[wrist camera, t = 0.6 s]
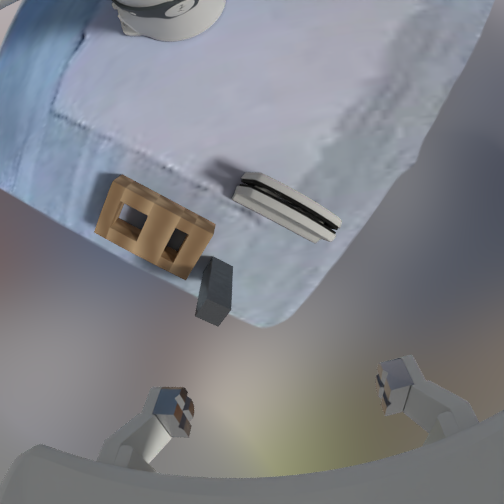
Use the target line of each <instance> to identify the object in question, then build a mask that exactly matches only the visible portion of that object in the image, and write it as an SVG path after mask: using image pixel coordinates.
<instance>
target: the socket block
mask: <svg viewBox="0 0 504 504" xmlns="http://www.w3.org/2000/svg"><path fill="white" fill-rule="evenodd" d="M124 203H125V204H127V205H129V206H131V207H132V208H134V209H136V210H138V211H140V212H142V213H144V214H146V215H147V216H148V218H147V220H146V222H145V224H144V226H143V228H142V230H140V229H138V228H136V227H135V226H133V225H131V224H129V223H127V222H125V221H123V220H121V219H120V218H119V215H120V213H121V210H122V208H123V205H124ZM175 228H177V229H179V230H181V231H183V232H185V233H186V234H187V235H186V237H185V239H184V241H183V243H182V244H181V246H180V248H179V250H178V251H176V250H174V249H172V248H170V247H168V246H166V245H167V243H168V241H169V239H170V237H171V235H172V233H173V231H174V230H175ZM214 229H215V224H214V223H212V222H210V221H209V220H207V219H205V218H203V217H201V216H199V215H197V214H196V213H194V212H192V211H190V210H188V209H186V208H184V207H182V206H181V205H179V204H177V203H175V202H173V201H171V200H169V199H167V198H166V197H164V196H162V195H160V194H158V193H156V192H154V191H152V190H151V189H149V188H147V187H145V186H143V185H141V184H139V183H137V182H136V181H134V180H132V179H130V178H128V177H126V176H124V175H121V176H119V177H118V178H116V179H115V180H114V181H113V182H112V184H111V187H110V189H109V192H108V195H107V197H106V200H105V203H104V205H103V208H102V211H101V214H100V217H99V219H98V222H97V225H96V228H95V231H94V232H95V233H96V234H98V235H100V236H102V237H104V238H105V239H107V240H109V241H111V242H113V243H115V244H116V245H118V246H120V247H122V248H124V249H126V250H128V251H130V252H131V253H133V254H135V255H137V256H139V257H141V258H143V259H145V260H147V261H149V262H151V263H153V264H154V265H156V266H158V267H160V268H162V269H164V270H166V271H168V272H170V273H172V274H174V275H176V276H178V277H180V278H182V279H184V280H186V279H187V277H188V276H189V274H190V272H191V271H192V269H193V267H194V266H195V264H196V262H197V261H198V259H199V257H200V256H201V254H202V253H203V251H204V249H205V248H206V246H207V244H208V243H209V241H210V239H211V238H212V236H213V234H214Z"/></svg>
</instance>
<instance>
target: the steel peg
mask: <svg viewBox="0 0 504 504" xmlns="http://www.w3.org/2000/svg"><path fill="white" fill-rule="evenodd" d="M232 276H233V266H231V265H229V264H227V263H225V262H223V261H221V260H219V259H217V258H215V257H213V258H212V259H211V261H210V263H209V264H208V266H207V267H206V269H205V270H204V272H203V276H202V281H201V286H200V291H199V297H198V302H197V308H196V313H195V316H196V317H198V318H200V319H202V320H205V321H207V322H209V323H211V324H214V325H216V326H219V325H220V324H221V322H222V321H223V320H224V318H225V317H226V316H227V315H228V313H229V312H230V311H231V300H232Z"/></svg>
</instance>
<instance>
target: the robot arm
mask: <svg viewBox="0 0 504 504" xmlns="http://www.w3.org/2000/svg"><path fill="white" fill-rule="evenodd" d="M16 1H18V0H0V10H1V9H2V8H4V7H6V6H8V5H10V4H12V3H14V2H16ZM112 1H113V3H112V7H113V8H114V9H115V10H116V9H117V10H118V14H119V15H118V17H119V19H120V22H121V25H122V29H123V32H124V33H125V34H126V35H127V36H142V35H143V36H147V37H150V38H153V39H156V40H160V41H181V40H185V39H189V38H192V37H194V36H196V35H198V34H200V33H202V32H204V31H205V30H207V29H208V28H209V27H210V26H212V25H213V24H214V23H215V22H216V20H217V19H218V18H219V17H220V15H221V13H222V11H223V9H224V7H225V3H226V0H112ZM377 370H378V375H377V376H376V381H375V383H376V391H377V394H378V397H380V398H381V399H382V401H381V406H382V409H383V412H384V415H385V416H388V415H392V414H396V413H399V412H403V413H405V414H406V415H407V416H408V417H410V418H411V419H412V420H413V421H414V422H416V423H417V424H418V425H420V426H421V427H422V428H423V429H424V430H426V431H427V432H428V433H429V435H428V437H427V439H426V441H425V442H424V444H423V446H422V447H420V448H417V449H414V450H411V451H408V452H404V453H401V454H398V455H395V456H391V457H388V458H384V459H380V460H377V461H372V462H368V463H364V464H360V465H355V466H350V467H345V468H340V469H335V470H329V471H322V472H315V473H308V474H299V475H290V476H279V477H261V478H206V477H191V476H179V475H170V474H161V473H157V472H156V471H155V469H154V468H153V467H151V466H150V465H149V463H150V462H151V460H152V459H153V458H154V457H155V456H156V455H157V454H158V453H159V452H160V451H161V449H162V448H163V447H164V446H165V445H166V444H167V443H168V441H169V440H170V439H171V437H184V438H189V435H190V431H191V424H190V423H189V421H190V420H192V419H193V416H194V404H193V401H192V399H191V398H189V397H188V396H187V393H188V392H187V390H186V388H184V387H152V388H151V389H150V392H149V394H148V397H147V400H146V402H145V405H144V408H143V410H142V413H141V414H137V415H136V416H135V417H134V418H133V419H131V420H130V421H129V422H128V423H126V424H125V425H124V426H123V427H121V428H120V429H119V430H118V431H116V432H115V433H114V434H113V435H111V436H110V437H109V438H107V439H106V440H105V441H104V444H103V446H102V449H101V451H100V453H99V456H98V458H97V461H94V460H90V459H87V458H82V457H79V456H76V455H73V454H70V453H67V452H63V451H60V450H57V449H55V448H52V447H49V446H46V445H43V444H39V445H36V446H34V447H32V448H31V449H29V450H27V451H26V452H24V453H22V454H21V455H19V456H18V457H17V458H16V459H15V460H14V462H13V463H12V465H11V466H10V468H9V469H8V471H7V473H6V475H5V477H4V479H3V481H2V483H1V485H0V504H504V410H502V411H500V412H499V413H497V414H495V415H493V416H491V417H489V418H487V419H486V420H484V421H482V422H480V423H479V421H478V419H477V417H476V415H475V413H474V411H473V409H472V408H471V406H470V404H469V402H468V401H466V400H464V399H462V398H461V397H459V396H457V395H455V394H453V393H452V392H450V391H448V390H446V389H444V388H442V387H440V386H439V385H437V384H435V383H433V382H432V381H430V380H427V381H426V380H425V378H424V376H423V374H422V372H421V370H420V368H419V366H418V365H417V363H416V361H415V359H414V357H413V356H412V355H408V356H404V357H401V358H396V359H393V360H389V361H385V362H381V363H378V365H377Z"/></svg>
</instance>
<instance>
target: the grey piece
mask: <svg viewBox="0 0 504 504" xmlns="http://www.w3.org/2000/svg"><path fill="white" fill-rule="evenodd" d="M241 179H242V182H243V183H245V184H247V185H244V184H240V185H239V186H237V187H236V190H235V193H234V196H232V200H234V201H235V202H237V203H239V204H241V205H243V206H245V207H247V208H249V209H251V210H253V211H255V212H257V213H259V214H261V215H263V216H264V217H266V218H268V219H270V220H272V221H274V222H276V223H278V224H280V225H282V226H283V227H285V228H287V229H289V230H291V231H293V232H295V233H296V234H298V235H300V236H302V237H304V238H306V239H308V240H309V241H311V242H313V243H317V242H318V241H319V240H320V239H323V240H326V241H329V242H332V241H333V239H334V238H335V237H336V235H335V233H336V232H335V231H333V230H332V229H335V230H337V229H338V228H340V227H341V222H342V220H341V219H340V218H338V217H337V216H336V215H334V214H333V213H331V212H330V211H328V210H327V209H325V208H324V207H322V206H321V205H319V204H318V203H316V202H314V201H313V200H311V199H310V198H308V197H306V196H304V195H303V194H301V193H299V192H297V191H296V190H294V189H292V188H290V187H288V186H286V185H284V184H283V183H281V182H279V181H277V180H275V179H273V178H271V177H268V176H266V175H264V174H262V173H256V172H246V173H245V174H244V175H243V176H242V177H241ZM277 197H279V198H281V199H283V200H285V201H287V202H288V203H290V204H292V205H294V206H295V207H294V206H292V205H290V204H288V203H286V202H284V201H283V200H281V199H279V198H277Z"/></svg>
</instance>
